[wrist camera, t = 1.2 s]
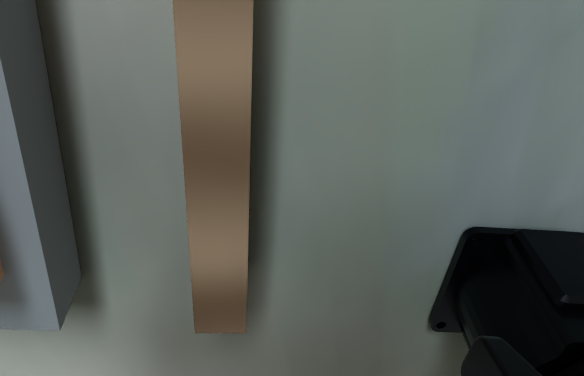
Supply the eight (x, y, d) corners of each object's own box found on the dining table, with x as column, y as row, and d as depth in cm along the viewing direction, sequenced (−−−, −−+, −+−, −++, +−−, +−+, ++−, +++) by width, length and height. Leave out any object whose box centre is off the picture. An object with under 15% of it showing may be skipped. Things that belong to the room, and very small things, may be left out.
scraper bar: (247, 262, 23) (246, 332, 20) (204, 262, 23) (194, 333, 19) (256, -162, 14) (256, -164, 11) (183, -168, 14) (161, -172, 10)
